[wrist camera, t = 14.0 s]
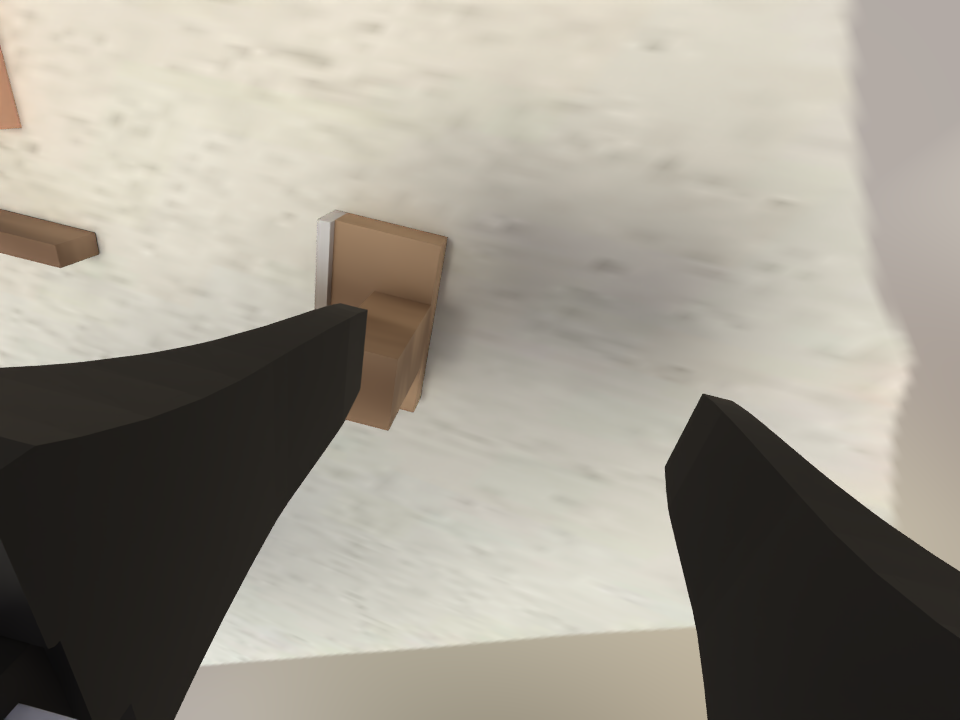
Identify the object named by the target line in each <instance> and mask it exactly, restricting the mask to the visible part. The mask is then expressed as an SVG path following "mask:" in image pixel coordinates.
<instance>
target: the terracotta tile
mask: <svg viewBox="0 0 960 720" xmlns="http://www.w3.org/2000/svg"><path fill="white" fill-rule="evenodd" d="M11 128H22V127H21V123H20V120H19V116H18V112H17V108H16V104H15V100H14V97H13V93H12V89H11V85H10V81H9V77H8V74H7V70H6V66H5V62H4V58H3V54H2V51H1V47H0V129H11Z"/></svg>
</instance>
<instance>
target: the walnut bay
mask: <svg viewBox="0 0 960 720" xmlns="http://www.w3.org/2000/svg"><path fill="white" fill-rule="evenodd" d="M0 253H3V254H7V255H11V256H15V257H19V258H23V259H27V260H31V261H35V262H39V263H43V264H47V265H51V266H55V267H59V268H62V267H65V266H68V265H70V264H73V263H76V262H79V261H81V260H84V259H87V258H90V257H93V256H95V255H98V254H99V251H98V246H97V241H96V236H95V233H93V232H89V231H85V230H81V229H77V228H73V227H69V226H65V225H61V224H57V223H53V222H49V221H45V220H41V219H37V218H33V217H29V216H25V215H21V214H17V213H13V212H9V211H5V210H1V209H0Z"/></svg>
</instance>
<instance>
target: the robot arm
mask: <svg viewBox="0 0 960 720" xmlns="http://www.w3.org/2000/svg"><path fill="white" fill-rule="evenodd" d="M367 313H368V310H366V309H362V308H358V307H354V306H350V305H346V304H342V303H338V304H333V305H329V306H325V307H322V308H319V309H316V310H312V311H309V312H306V313H303V314H300V315H297V316H294V317H291V318H288V319H285V320H282V321H279V322H276V323H273V324H270V325H267V326H263V327H260V328H256V329H253V330H249V331H246V332H242V333H238V334H235V335H231V336H228V337H224V338H221V339H217V340H213V341H209V342H205V343H200V344H196V345H191V346H187V347H181V348H176V349H171V350H166V351H160V352H155V353H149V354H142V355H134V356H126V357H118V358H111V359H103V360H95V361H87V362H78V363H67V364H54V365H41V366H25V367H6V368H0V720H174V719H175V717H176V714H177V712H178V710H179V708H180V706H181V704H182V702H183V700H184V698H185V695H186V693H187V691H188V689H189V687H190V685H191V683H192V680H193V678H194V676H195V674H196V672H197V670H198V668H199V666H200V664H201V662H202V660H203V658H204V656H205V654H206V652H207V650H208V648H209V646H210V644H211V642H212V640H213V638H214V636H215V634H216V632H217V630H218V628H219V626H220V624H221V622H222V620H223V618H224V616H225V614H226V612H227V611H228V609H229V607H230V605H231V603H232V601H233V599H234V597H235V595H236V594H237V592H238V590H239V588H240V586H241V584H242V582H243V580H244V578H245V577H246V575H247V573H248V571H249V569H250V567H251V565H252V563H253V562H254V560H255V558H256V556H257V554H258V553H259V551H260V549H261V547H262V545H263V544H264V542H265V540H266V538H267V536H268V535H269V533H270V531H271V529H272V527H273V526H274V524H275V522H276V520H277V519H278V517H279V516H280V514H281V513H282V511H283V510H284V508H285V506H286V505H287V503H288V502H289V500H290V499H291V498H292V496H293V495H294V493H295V492H296V491H297V489H298V488H299V486H300V485H301V483H302V482H303V481H304V479H305V478H306V476H307V475H308V474H309V472H310V471H311V469H312V468H313V467H314V465H315V464H316V462H317V461H318V459H319V458H320V457H321V455H322V454H323V452H324V451H325V450H326V448H327V447H328V445H329V444H330V442H331V441H332V439H333V438H334V437H335V435H336V434H337V432H338V431H339V429H340V428H341V426H342V425H343V423H344V421H345V419H346V417H347V415H348V413H349V411H350V409H351V407H352V405H353V403H354V401H355V399H356V397H357V395H358V393H359V391H360V388H361V378H362V367H363V356H364V345H365V334H366V324H367ZM665 479H666V493H667V502H668V510H669V515H670V519H671V524H672V528H673V532H674V537H675V541H676V545H677V549H678V553H679V557H680V561H681V565H682V569H683V573H684V578H685V582H686V586H687V590H688V594H689V598H690V602H691V606H692V610H693V615H694V620H695V625H696V630H697V636H698V643H699V650H700V658H701V665H702V674H703V681H704V689H705V699H706V708H707V718H708V720H960V571H958V570H957V569H955V568H954V567H952V566H950V565H949V564H947V563H945V562H944V561H943V560H941V559H939V558H938V557H936V556H935V555H933V554H932V553H930V552H929V551H927V550H926V549H924V548H923V547H921V546H920V545H919V544H917V543H916V542H914V541H913V540H911V539H910V538H908V537H907V536H905V535H904V534H902V533H901V532H900V531H898V530H897V529H895V528H894V527H892V526H891V525H889V524H888V523H887V522H885V521H884V520H882V519H881V518H880V517H878V516H877V515H875V514H874V513H873V512H871V511H870V510H869V509H867V508H866V507H865V506H863V505H862V504H861V503H860V502H858V501H857V500H856V499H854V498H853V497H852V496H850V495H849V494H848V493H847V492H845V491H844V490H843V489H841V488H840V487H839V486H838V485H836V484H835V483H834V482H833V481H831V480H830V479H829V478H828V477H826V476H825V475H824V474H823V473H821V472H820V471H819V470H818V469H816V468H815V467H814V466H813V465H812V464H810V463H809V462H808V461H807V460H806V459H804V458H803V457H802V456H801V455H800V454H798V453H797V452H796V451H795V450H794V449H793V448H791V447H790V446H789V445H788V444H787V443H785V442H784V441H783V440H782V439H781V438H779V437H778V436H777V435H776V434H775V433H774V432H772V431H771V430H770V429H769V428H768V427H766V426H765V425H764V424H763V423H762V422H760V421H759V420H758V419H757V418H755V417H754V416H753V415H752V414H750V413H749V412H748V411H746V410H745V409H743V408H742V407H741V406H739V405H738V404H736V403H735V402H733V401H730V400H726V399H722V398H718V397H714V396H710V395H706V394H702V396H701V398H700V400H699V402H698V404H697V406H696V408H695V409H694V411H693V413H692V415H691V417H690V419H689V421H688V423H687V425H686V427H685V429H684V431H683V433H682V435H681V436H680V438H679V440H678V442H677V444H676V446H675V448H674V450H673V452H672V454H671V456H670V458H669V460H668V462H667V463H666V465H665Z"/></svg>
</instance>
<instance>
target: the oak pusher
mask: <svg viewBox="0 0 960 720" xmlns="http://www.w3.org/2000/svg"><path fill="white" fill-rule="evenodd" d="M447 238H448V237H444V236H440V235H436V234H432V233H428V232H424V231H420V230H416V229H412V228H408V227H404V226H399V225H395V224H391V223H387V222H383V221H379V220H375V219H371V218H367V217H363V216H358V215H354V214H350V213H346V212H342V211H338V210H334V211H332V212H331V213H329V214H327V215H325V216H323V217H321V218H319V219H318V222H317V253H316V283H315V310H316V309H319V308H322V307H325V306H329V305H333V304H338V303H342V304H346V305H350V306H354V307H358V308H362V309H366V310H368V313H367V324H366V334H365V345H364V356H363V367H362V378H361V388H360V391H359V393H358V395H357V397H356V399H355V401H354V403H353V405H352V407H351V409H350V411H349V413H348V415H347V417H346V419H345V420H349V421H353V422H357V423H361V424H364V425H368V426H372V427H376V428H380V429H384V430H389V429H390V427H391V425H392V423H393V421H394V419H395V417H396V415H397V413H398V411H399V409H402V410H406V411H410V412H414V410H415V408H416V406H417V404H418V402H419V400H420V397H421V391H422V385H423V380H424V374H425V368H426V362H427V356H428V350H429V344H430V338H431V332H432V326H433V320H434V314H435V309H436V303H437V297H438V291H439V285H440V279H441V273H442V267H443V261H444V255H445V249H446V244H447Z"/></svg>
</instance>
